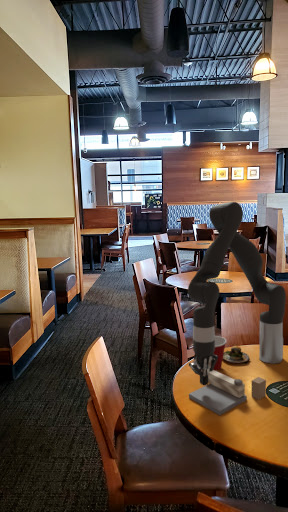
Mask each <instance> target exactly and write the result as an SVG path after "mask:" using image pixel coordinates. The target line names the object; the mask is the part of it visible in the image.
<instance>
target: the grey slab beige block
mask: <svg viewBox="0 0 288 512" xmlns="http://www.w3.org/2000/svg"><path fill="white" fill-rule="evenodd" d="M266 387H267V380H266V378H262V377H260V376H257V377H256V378H253V379H252V380H251V396H252V398H253V399H256V400H258V401H261V399H263V398H264V397H266V395H267V389H266ZM188 397H189V398H188V399H190V400H191V401H194V402H196V403H197V404H200V405H201V406H202V407H205V408H206V409H208V410H209V411H211V412H213V413H215V414H217V415H218V416H221V415H223V414H224V413H227V412H228V411H230V410H232V409H233V408H235V407H236V406H239V405H241V404H242V403H245V402H246V401H247V398H248V396H247V395H246V394H245V395H243V396H242V397H240V398H238V397H236V396H234V395H232V394H230V393H228V392H226V391H224V390H222V389H220V388H218V387H216V386H214V385H212V384H210V383H208V384H207V385H205V386H204V385H203V387H200V388H198V389H195V390H194V391H191V392H189V393H188Z"/></svg>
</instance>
